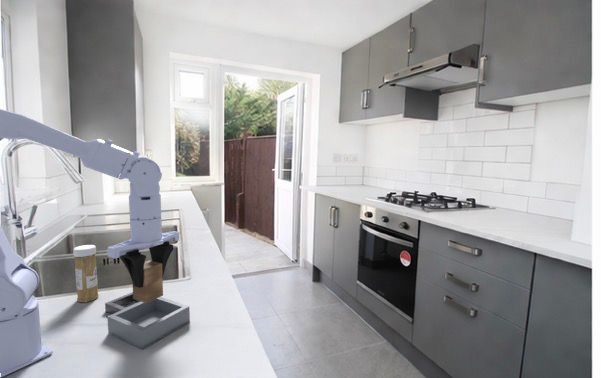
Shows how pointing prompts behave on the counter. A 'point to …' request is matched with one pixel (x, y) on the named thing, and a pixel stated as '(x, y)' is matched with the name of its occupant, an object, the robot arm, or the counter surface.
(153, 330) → the tray
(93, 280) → the sprinkles bottle
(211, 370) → the counter surface
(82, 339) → the counter surface
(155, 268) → the brown wooden block
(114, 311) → the socket collar
